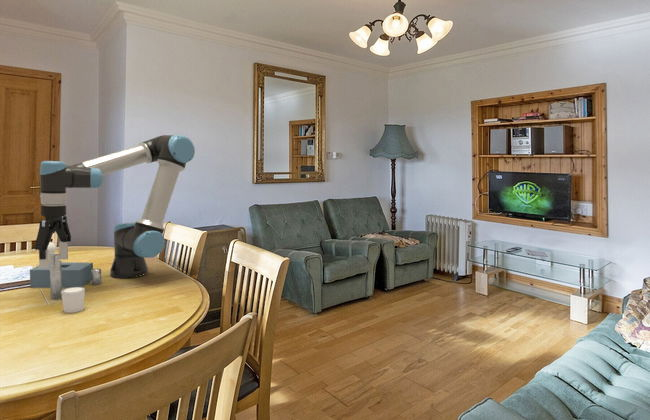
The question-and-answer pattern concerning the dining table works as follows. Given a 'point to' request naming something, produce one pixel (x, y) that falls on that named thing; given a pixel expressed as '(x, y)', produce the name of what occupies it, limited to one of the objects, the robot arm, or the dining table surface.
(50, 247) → the lightbulb
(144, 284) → the dining table surface
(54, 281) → the tall pin
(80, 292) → the shot glass
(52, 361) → the dining table surface
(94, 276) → the short pin
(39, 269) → the hole block
